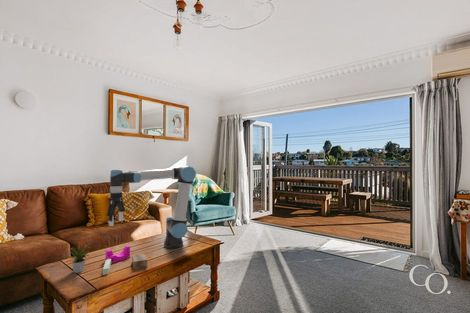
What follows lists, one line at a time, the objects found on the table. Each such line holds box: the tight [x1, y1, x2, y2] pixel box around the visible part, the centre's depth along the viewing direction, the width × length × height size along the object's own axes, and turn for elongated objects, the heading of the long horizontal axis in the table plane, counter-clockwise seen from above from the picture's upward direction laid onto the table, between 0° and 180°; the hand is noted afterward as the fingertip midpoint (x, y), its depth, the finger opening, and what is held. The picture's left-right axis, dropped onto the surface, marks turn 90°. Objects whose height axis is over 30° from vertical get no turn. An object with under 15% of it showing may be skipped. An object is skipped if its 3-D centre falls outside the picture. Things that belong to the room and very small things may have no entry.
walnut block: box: [131, 253, 148, 270], centre depth 166 cm, size 8×12×5 cm, turn 26°
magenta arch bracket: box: [105, 244, 131, 264], centre depth 175 cm, size 15×6×8 cm, turn 136°
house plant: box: [67, 244, 90, 274], centre depth 155 cm, size 14×14×16 cm
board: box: [102, 258, 112, 276], centre depth 159 cm, size 3×16×4 cm, turn 21°
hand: (116, 223), depth 173 cm, fingers open, 13 cm apart
